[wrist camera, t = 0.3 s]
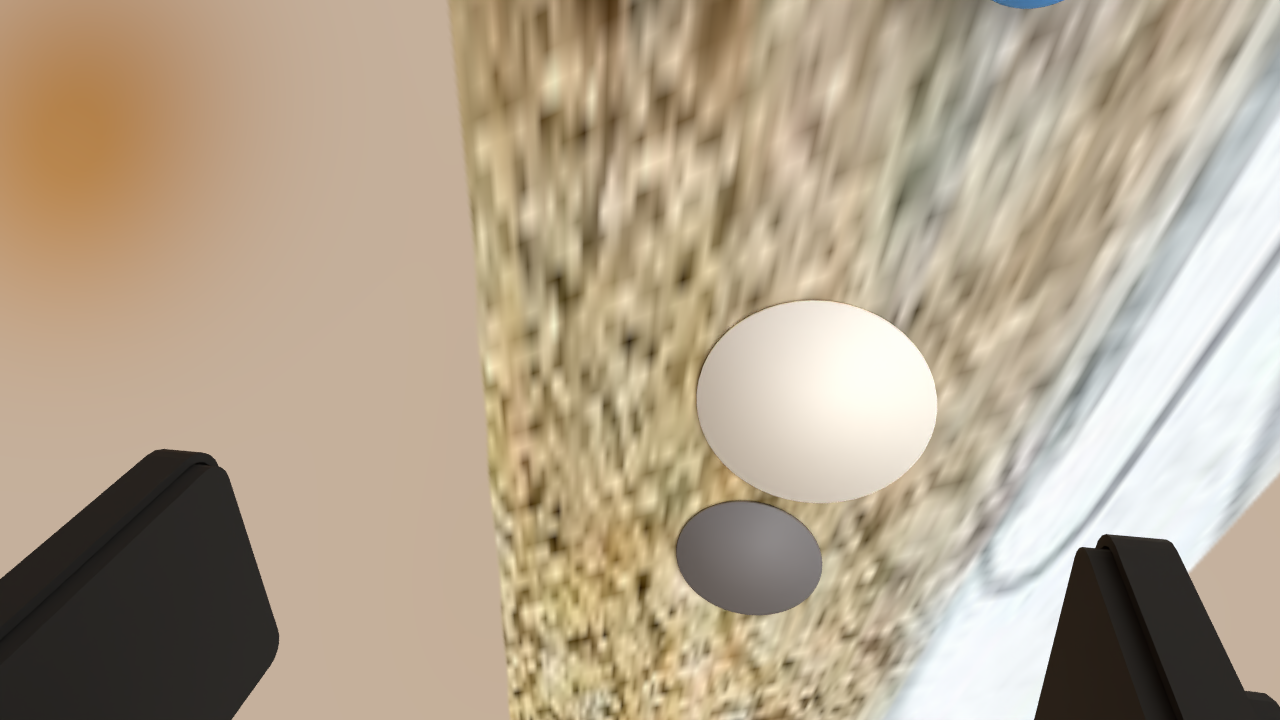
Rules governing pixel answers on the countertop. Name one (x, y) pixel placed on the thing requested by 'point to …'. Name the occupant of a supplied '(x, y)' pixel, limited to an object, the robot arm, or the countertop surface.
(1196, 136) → the countertop surface
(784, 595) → the charcoal disc
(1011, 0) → the blue ball
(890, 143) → the countertop surface
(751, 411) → the white disc
